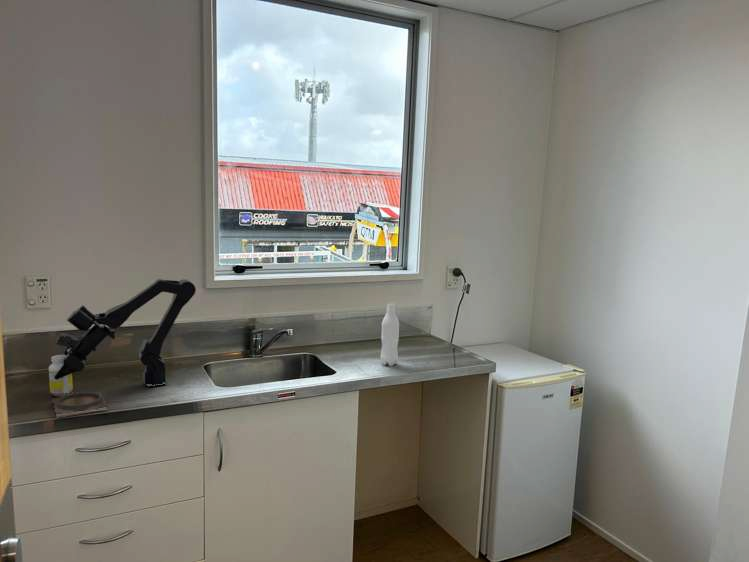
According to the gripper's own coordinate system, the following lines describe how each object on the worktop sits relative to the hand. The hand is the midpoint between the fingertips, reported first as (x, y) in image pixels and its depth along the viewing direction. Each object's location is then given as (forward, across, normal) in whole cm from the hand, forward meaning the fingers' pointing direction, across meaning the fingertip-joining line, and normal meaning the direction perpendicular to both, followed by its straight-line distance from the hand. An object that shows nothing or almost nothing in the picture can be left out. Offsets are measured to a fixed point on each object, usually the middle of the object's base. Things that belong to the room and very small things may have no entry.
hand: (55, 375), depth 191 cm
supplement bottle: (+4, 0, +6) cm, 7 cm away
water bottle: (-80, +7, +90) cm, 120 cm away
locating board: (0, +14, +10) cm, 17 cm away
